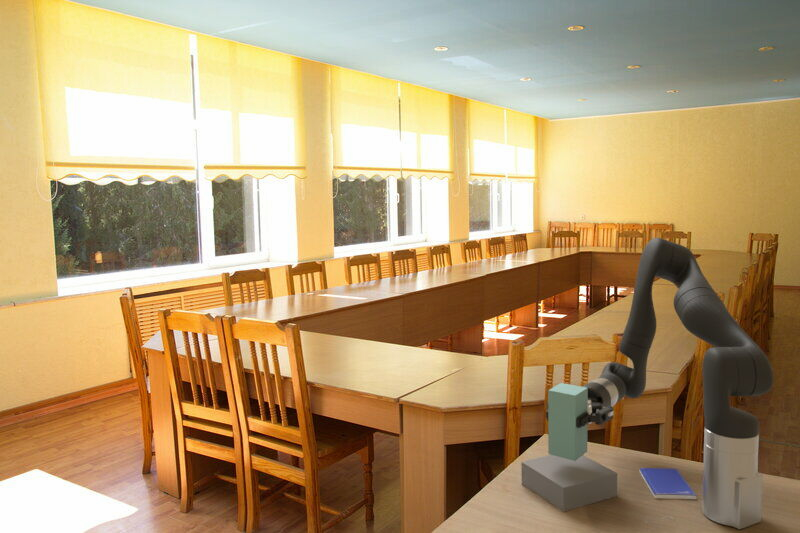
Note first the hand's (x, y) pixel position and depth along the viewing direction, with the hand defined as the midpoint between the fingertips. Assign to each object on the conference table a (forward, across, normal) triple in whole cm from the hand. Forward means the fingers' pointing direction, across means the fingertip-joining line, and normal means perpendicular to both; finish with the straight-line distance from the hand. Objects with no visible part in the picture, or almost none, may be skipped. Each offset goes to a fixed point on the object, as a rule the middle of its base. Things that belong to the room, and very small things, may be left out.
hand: (563, 419), depth 132 cm
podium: (-2, 0, +16) cm, 16 cm away
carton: (-2, 0, +8) cm, 8 cm away
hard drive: (-17, +16, +17) cm, 29 cm away
